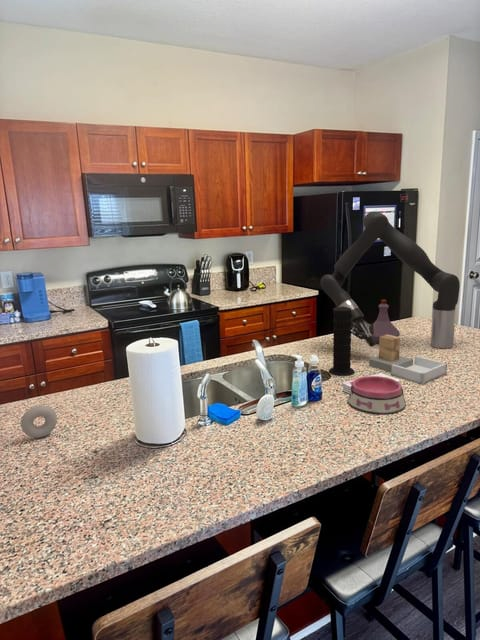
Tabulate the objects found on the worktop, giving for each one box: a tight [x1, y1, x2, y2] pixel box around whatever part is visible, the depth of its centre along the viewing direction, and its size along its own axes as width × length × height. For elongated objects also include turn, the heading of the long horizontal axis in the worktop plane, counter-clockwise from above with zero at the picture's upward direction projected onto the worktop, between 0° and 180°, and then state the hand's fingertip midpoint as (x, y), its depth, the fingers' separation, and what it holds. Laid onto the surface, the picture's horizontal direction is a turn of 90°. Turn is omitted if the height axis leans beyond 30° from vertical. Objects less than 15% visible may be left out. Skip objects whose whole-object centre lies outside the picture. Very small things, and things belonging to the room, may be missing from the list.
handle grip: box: [328, 306, 356, 377], centre depth 172 cm, size 10×26×10 cm
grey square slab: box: [368, 355, 414, 373], centre depth 178 cm, size 12×12×3 cm
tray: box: [390, 355, 448, 385], centre depth 168 cm, size 16×13×4 cm
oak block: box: [378, 335, 401, 362], centre depth 178 cm, size 5×6×9 cm
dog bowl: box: [346, 375, 407, 415], centre depth 146 cm, size 18×19×7 cm
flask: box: [372, 299, 401, 344], centre depth 210 cm, size 16×16×20 cm
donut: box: [20, 404, 58, 439], centre depth 132 cm, size 10×3×10 cm, turn 122°
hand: (373, 345), depth 184 cm, fingers closed
